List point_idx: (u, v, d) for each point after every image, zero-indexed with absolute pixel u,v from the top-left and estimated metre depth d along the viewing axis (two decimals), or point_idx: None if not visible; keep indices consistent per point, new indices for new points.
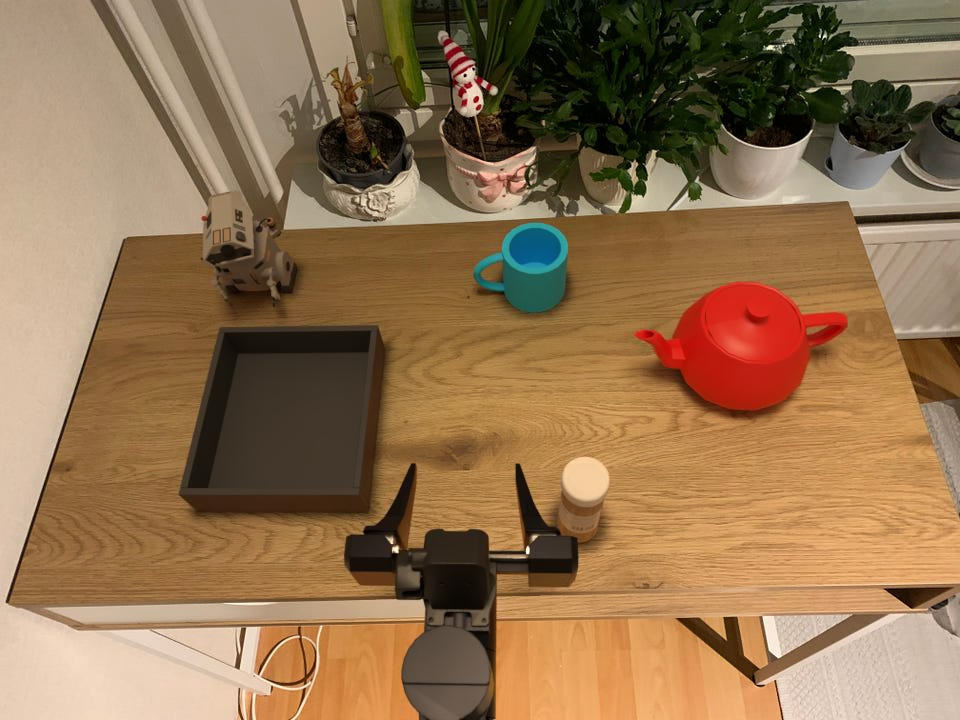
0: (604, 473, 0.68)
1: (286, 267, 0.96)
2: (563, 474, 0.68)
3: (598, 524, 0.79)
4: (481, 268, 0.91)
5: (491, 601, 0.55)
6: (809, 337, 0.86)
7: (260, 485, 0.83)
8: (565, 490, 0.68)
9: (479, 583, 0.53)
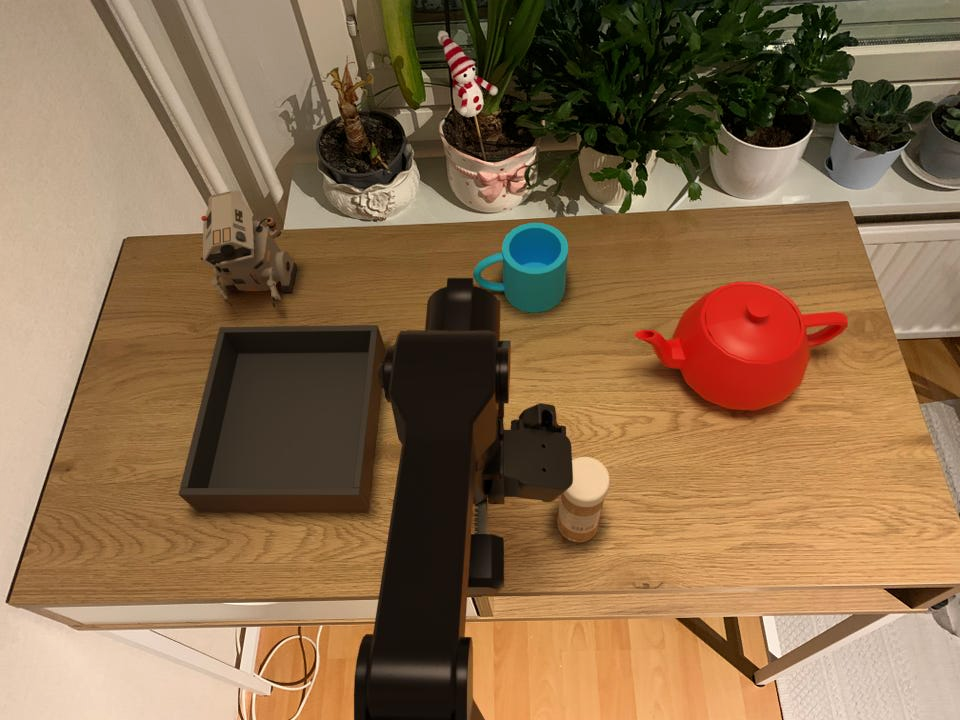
0: (604, 473, 0.68)
1: (286, 267, 0.96)
2: None
3: (598, 524, 0.79)
4: (481, 268, 0.91)
5: (503, 486, 0.55)
6: (809, 337, 0.86)
7: (260, 485, 0.83)
8: None
9: (545, 479, 0.56)
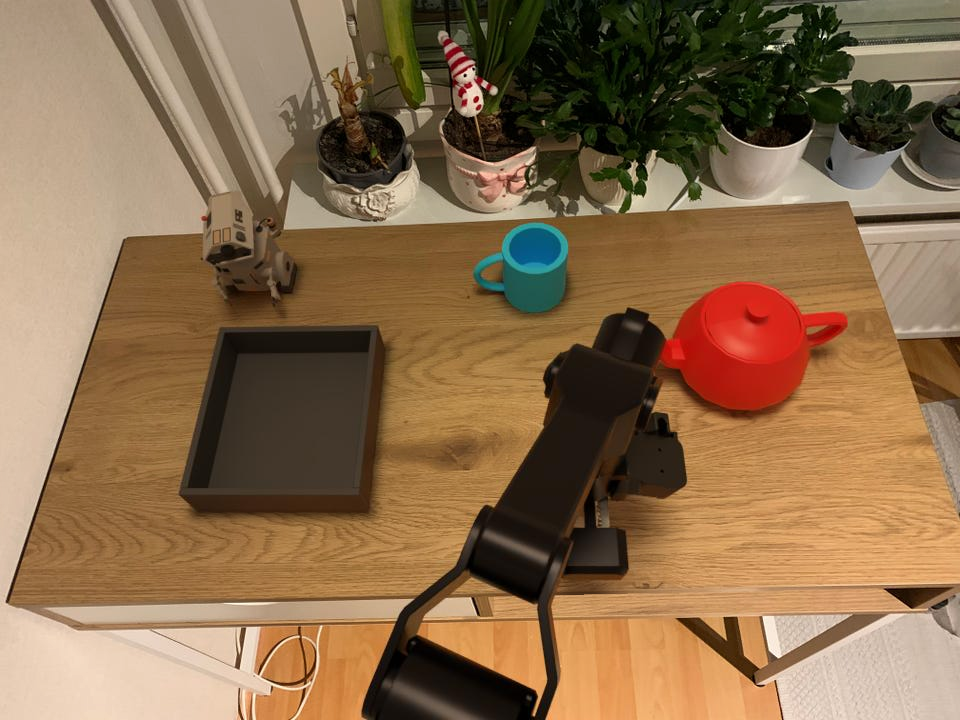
0: None
1: (286, 267, 0.96)
2: None
3: None
4: (481, 268, 0.91)
5: (628, 486, 0.62)
6: (809, 337, 0.86)
7: (260, 485, 0.83)
8: None
9: (663, 479, 0.63)
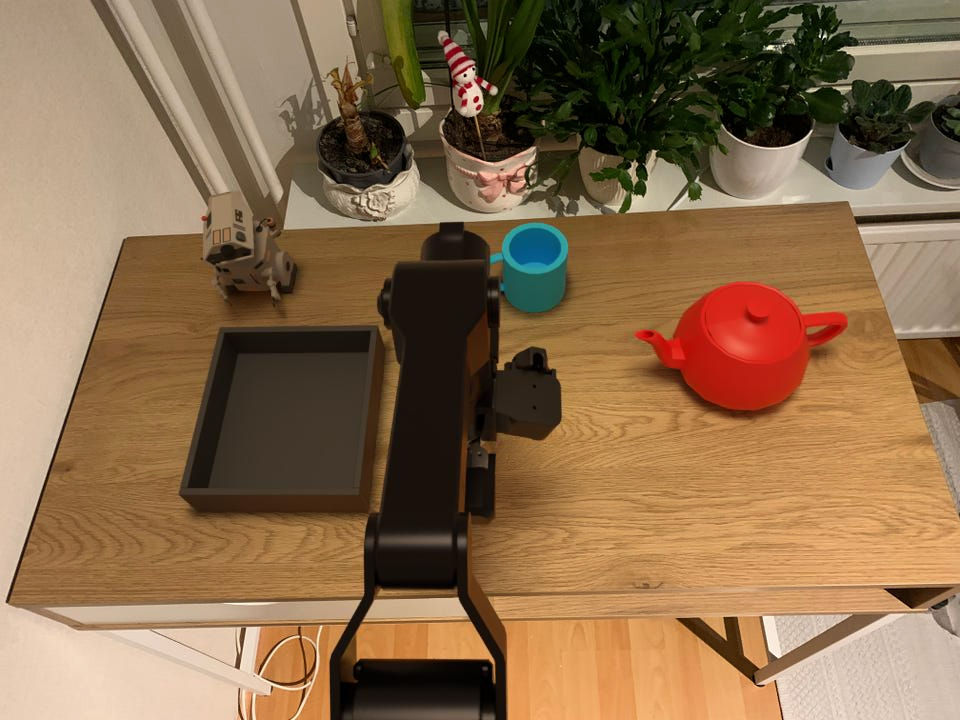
0: None
1: (286, 267, 0.96)
2: None
3: None
4: None
5: (495, 421, 0.58)
6: (809, 337, 0.86)
7: (260, 485, 0.83)
8: None
9: (535, 416, 0.59)
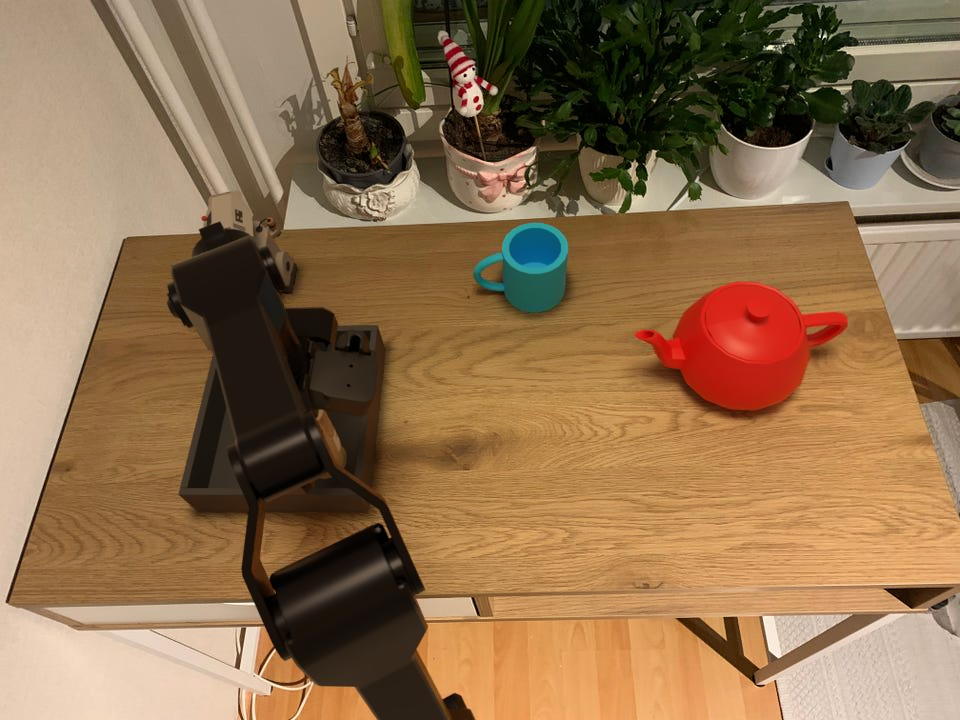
0: None
1: (286, 267, 0.96)
2: None
3: (345, 461, 0.79)
4: (481, 268, 0.91)
5: (309, 398, 0.63)
6: (809, 337, 0.86)
7: None
8: None
9: (348, 393, 0.63)
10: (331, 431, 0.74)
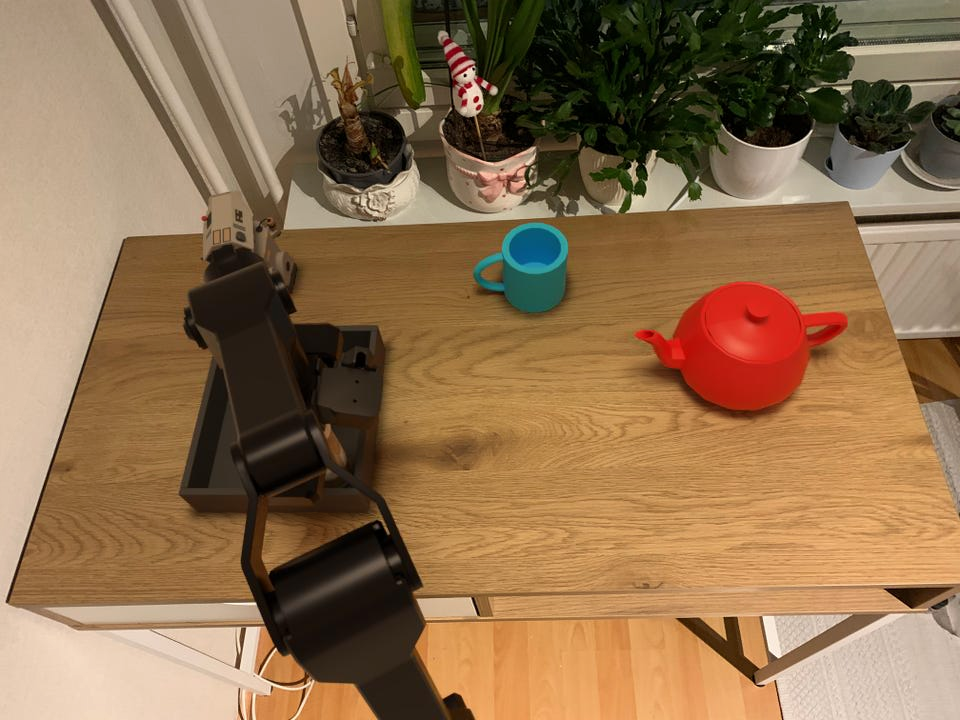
0: None
1: (286, 267, 0.96)
2: None
3: (352, 474, 0.82)
4: (481, 268, 0.91)
5: (317, 413, 0.65)
6: (809, 337, 0.86)
7: None
8: None
9: (354, 408, 0.66)
10: (338, 449, 0.77)
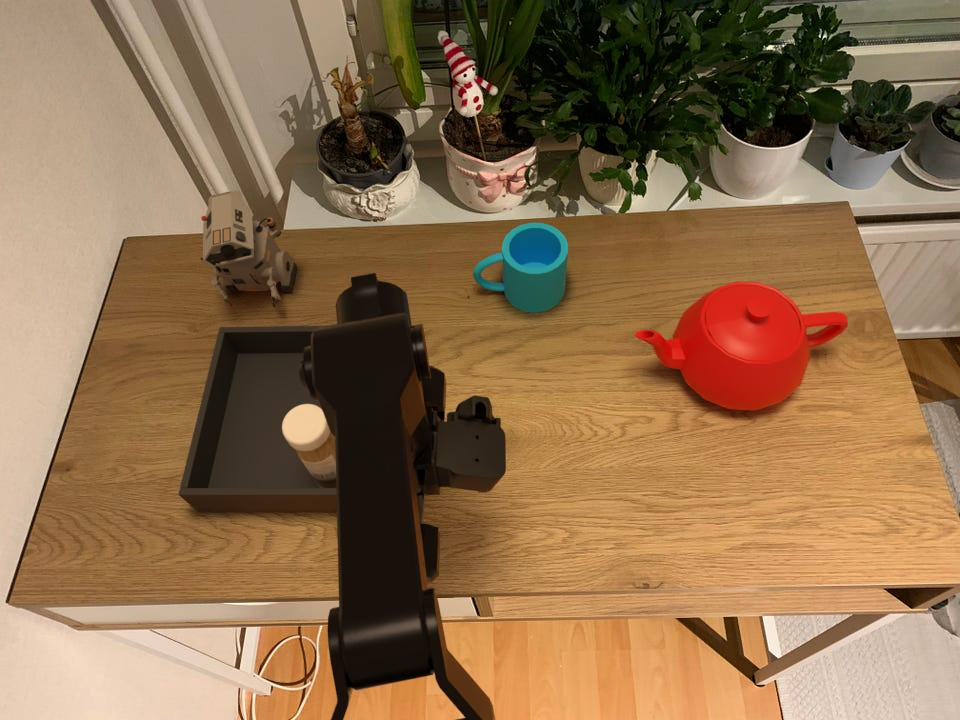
0: (321, 419, 0.72)
1: (286, 267, 0.96)
2: (283, 420, 0.72)
3: None
4: (481, 268, 0.91)
5: (436, 476, 0.56)
6: (809, 337, 0.86)
7: (260, 485, 0.83)
8: None
9: (477, 469, 0.57)
10: None
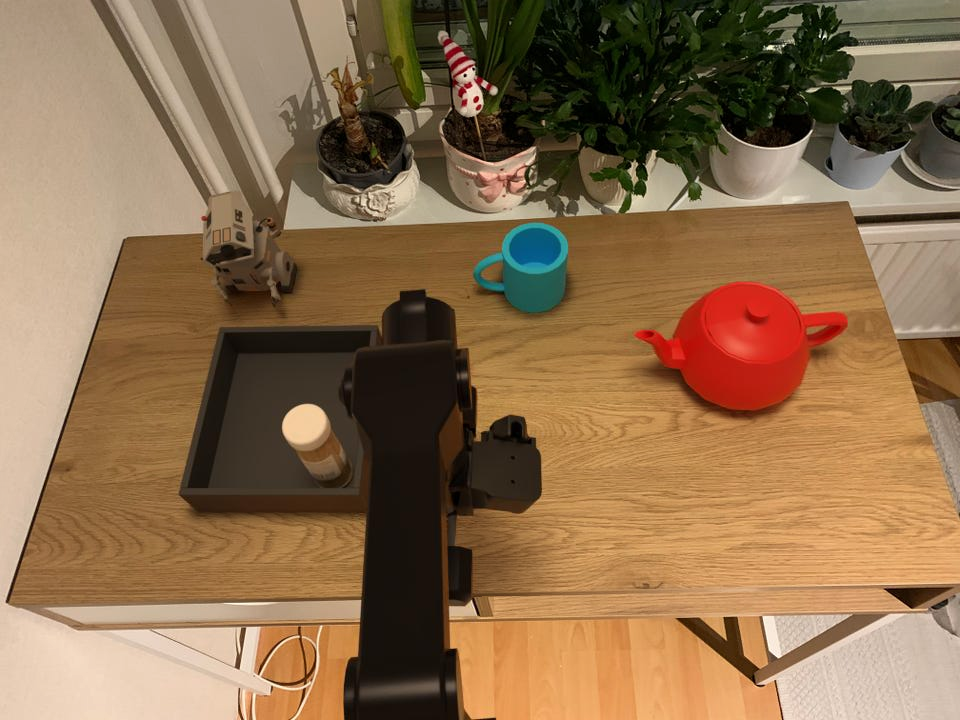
0: (321, 419, 0.72)
1: (286, 267, 0.96)
2: (284, 420, 0.72)
3: (352, 474, 0.82)
4: (481, 268, 0.91)
5: (471, 498, 0.55)
6: (809, 337, 0.86)
7: (260, 485, 0.83)
8: (284, 434, 0.72)
9: (513, 491, 0.55)
10: (338, 449, 0.77)
